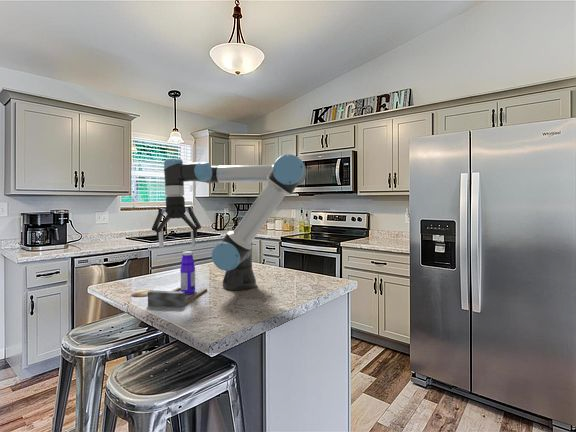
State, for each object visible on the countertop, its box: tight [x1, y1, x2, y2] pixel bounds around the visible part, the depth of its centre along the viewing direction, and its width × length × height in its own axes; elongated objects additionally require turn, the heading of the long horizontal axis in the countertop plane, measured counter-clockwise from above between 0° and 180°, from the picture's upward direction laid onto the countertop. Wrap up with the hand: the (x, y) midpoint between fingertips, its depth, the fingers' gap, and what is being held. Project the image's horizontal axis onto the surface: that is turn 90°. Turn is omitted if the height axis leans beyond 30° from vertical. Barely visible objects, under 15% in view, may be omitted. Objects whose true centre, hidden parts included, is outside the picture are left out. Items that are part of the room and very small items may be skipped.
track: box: [147, 287, 208, 308], centre depth 132 cm, size 14×22×5 cm, turn 171°
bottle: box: [179, 250, 196, 295], centre depth 139 cm, size 7×6×17 cm
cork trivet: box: [131, 289, 155, 298], centre depth 139 cm, size 9×9×1 cm
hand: (177, 246), depth 140 cm, fingers open, 13 cm apart
